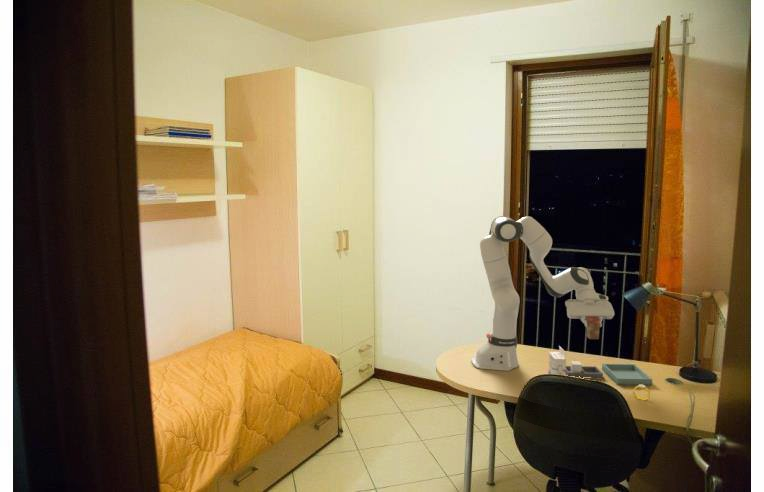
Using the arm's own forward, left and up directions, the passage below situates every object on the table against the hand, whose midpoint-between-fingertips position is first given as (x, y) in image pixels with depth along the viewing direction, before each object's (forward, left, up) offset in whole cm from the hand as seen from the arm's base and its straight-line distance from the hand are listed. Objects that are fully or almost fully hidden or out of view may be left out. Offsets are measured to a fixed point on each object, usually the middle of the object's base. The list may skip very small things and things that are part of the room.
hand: (593, 326), depth 212 cm
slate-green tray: (+15, -1, -23) cm, 28 cm away
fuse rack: (-4, +1, -23) cm, 24 cm away
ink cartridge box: (-17, -5, -24) cm, 30 cm away
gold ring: (+12, -22, -24) cm, 35 cm away
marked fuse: (0, +1, -5) cm, 5 cm away
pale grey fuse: (-7, 0, -23) cm, 24 cm away
